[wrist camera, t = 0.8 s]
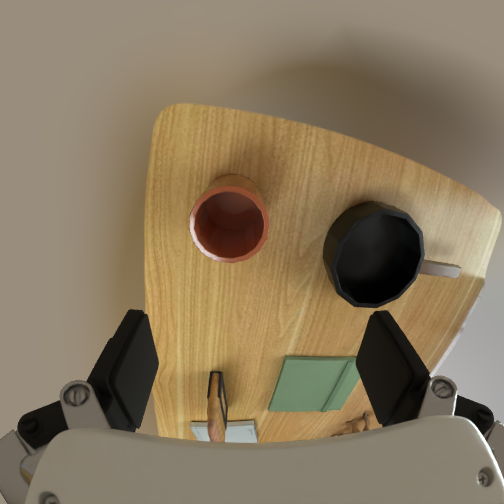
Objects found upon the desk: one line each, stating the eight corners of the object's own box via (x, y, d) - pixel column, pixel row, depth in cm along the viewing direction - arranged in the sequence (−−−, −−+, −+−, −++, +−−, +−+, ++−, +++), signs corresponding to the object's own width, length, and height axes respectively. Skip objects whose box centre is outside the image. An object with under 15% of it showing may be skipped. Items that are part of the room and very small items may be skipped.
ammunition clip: (209, 371, 39) (202, 435, 28) (221, 371, 39) (216, 436, 28) (217, 408, 44) (213, 464, 33) (227, 408, 44) (225, 464, 33)
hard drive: (253, 425, 44) (189, 427, 44) (258, 443, 47) (200, 445, 47) (253, 419, 45) (190, 421, 46) (257, 437, 48) (200, 439, 49)
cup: (206, 170, 28) (192, 182, 21) (267, 178, 29) (275, 192, 21) (201, 228, 31) (187, 257, 23) (258, 235, 31) (262, 267, 24)
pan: (335, 192, 29) (347, 200, 26) (456, 222, 31) (473, 232, 27) (312, 287, 34) (320, 304, 30) (430, 296, 35) (443, 310, 32)
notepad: (285, 355, 38) (286, 360, 37) (368, 356, 39) (370, 361, 38) (268, 407, 44) (268, 412, 43) (339, 406, 45) (340, 411, 44)
